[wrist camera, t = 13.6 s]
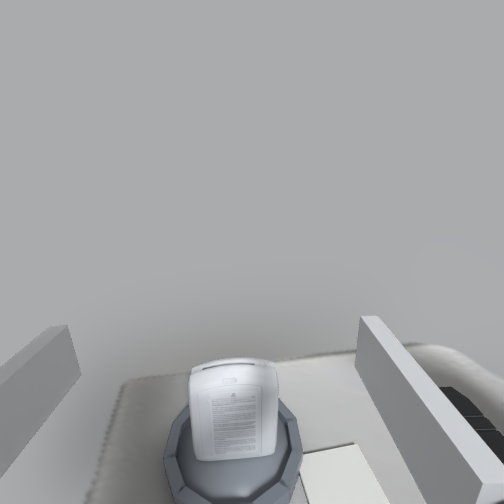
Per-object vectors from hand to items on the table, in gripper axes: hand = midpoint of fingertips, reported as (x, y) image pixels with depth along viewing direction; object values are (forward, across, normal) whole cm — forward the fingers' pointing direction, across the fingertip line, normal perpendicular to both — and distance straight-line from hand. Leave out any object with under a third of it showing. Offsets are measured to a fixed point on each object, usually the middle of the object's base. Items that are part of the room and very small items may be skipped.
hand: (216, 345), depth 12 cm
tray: (+14, -1, -26) cm, 29 cm away
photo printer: (+14, -1, -25) cm, 29 cm away
